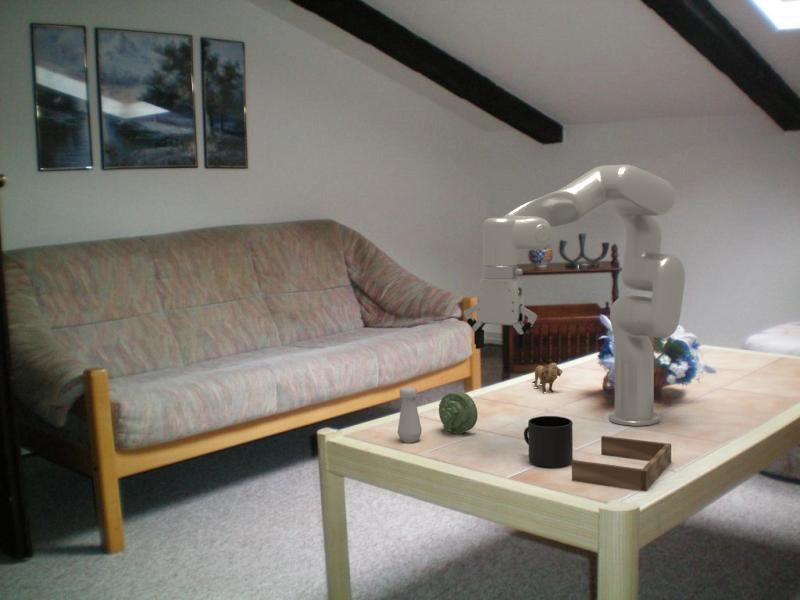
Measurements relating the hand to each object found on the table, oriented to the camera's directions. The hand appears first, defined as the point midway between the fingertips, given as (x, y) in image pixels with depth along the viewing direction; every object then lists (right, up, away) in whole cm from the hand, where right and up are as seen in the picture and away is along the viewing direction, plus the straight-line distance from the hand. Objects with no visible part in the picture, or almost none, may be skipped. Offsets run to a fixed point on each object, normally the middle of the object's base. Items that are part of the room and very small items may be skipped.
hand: (499, 349), depth 194 cm
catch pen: (+24, -25, -13) cm, 37 cm away
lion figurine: (+21, -16, +61) cm, 66 cm away
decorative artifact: (-9, -22, +18) cm, 30 cm away
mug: (+10, -24, -4) cm, 26 cm away
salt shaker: (-20, -23, +14) cm, 34 cm away
